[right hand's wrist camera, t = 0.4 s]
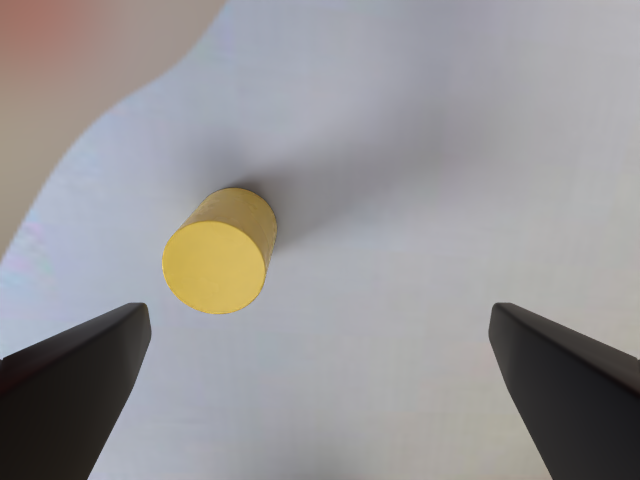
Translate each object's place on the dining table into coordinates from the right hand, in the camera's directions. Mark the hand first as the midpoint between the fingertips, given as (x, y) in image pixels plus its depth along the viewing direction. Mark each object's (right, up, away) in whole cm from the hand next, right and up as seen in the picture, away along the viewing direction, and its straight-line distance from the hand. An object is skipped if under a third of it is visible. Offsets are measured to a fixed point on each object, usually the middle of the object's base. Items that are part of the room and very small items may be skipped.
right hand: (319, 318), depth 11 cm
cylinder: (-4, +3, +10) cm, 11 cm away
